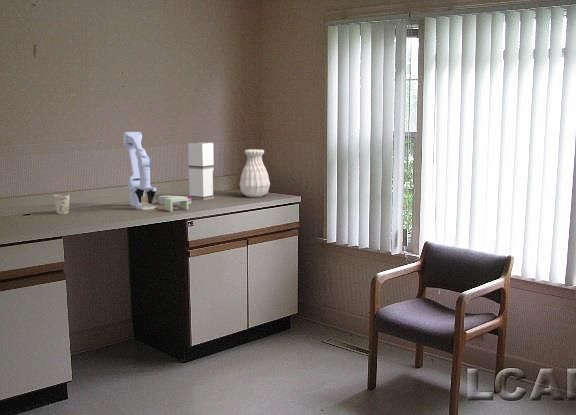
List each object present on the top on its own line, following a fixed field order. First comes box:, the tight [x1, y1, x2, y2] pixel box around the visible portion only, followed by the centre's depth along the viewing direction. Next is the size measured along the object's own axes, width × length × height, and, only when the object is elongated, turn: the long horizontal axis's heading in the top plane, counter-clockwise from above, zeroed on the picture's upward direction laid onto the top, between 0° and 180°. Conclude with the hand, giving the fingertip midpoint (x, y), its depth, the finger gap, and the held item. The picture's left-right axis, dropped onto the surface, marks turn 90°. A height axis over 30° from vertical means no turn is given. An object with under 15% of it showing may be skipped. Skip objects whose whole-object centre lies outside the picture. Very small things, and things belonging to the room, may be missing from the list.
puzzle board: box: [133, 204, 187, 214], centre depth 369 cm, size 23×22×1 cm
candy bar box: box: [158, 195, 192, 206], centre depth 389 cm, size 11×5×16 cm
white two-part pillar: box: [187, 141, 215, 201], centre depth 413 cm, size 11×11×35 cm
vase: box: [239, 148, 271, 198], centre depth 423 cm, size 20×20×30 cm
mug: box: [53, 193, 71, 215], centre depth 361 cm, size 8×13×10 cm, turn 27°
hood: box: [163, 195, 189, 213], centre depth 364 cm, size 7×11×7 cm, turn 131°
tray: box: [135, 205, 156, 211], centre depth 370 cm, size 8×8×1 cm
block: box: [141, 195, 151, 206], centre depth 369 cm, size 4×4×5 cm
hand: (145, 203), depth 369 cm, fingers closed on block, 6 cm apart
